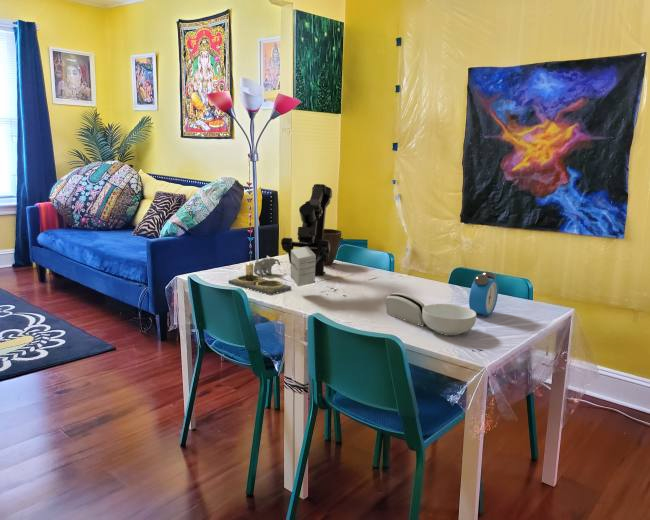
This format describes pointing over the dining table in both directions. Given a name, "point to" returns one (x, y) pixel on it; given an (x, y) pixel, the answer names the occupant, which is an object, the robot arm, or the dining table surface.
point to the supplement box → (303, 266)
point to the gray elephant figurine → (264, 265)
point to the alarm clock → (483, 294)
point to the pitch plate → (258, 282)
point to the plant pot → (332, 243)
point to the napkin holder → (405, 307)
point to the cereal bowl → (448, 318)
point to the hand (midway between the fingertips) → (302, 263)
